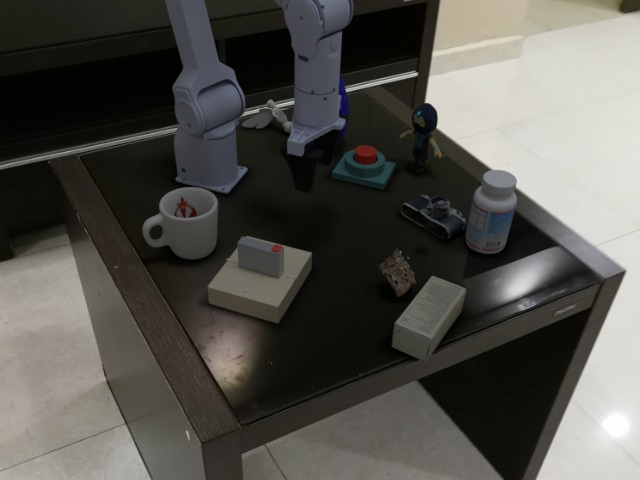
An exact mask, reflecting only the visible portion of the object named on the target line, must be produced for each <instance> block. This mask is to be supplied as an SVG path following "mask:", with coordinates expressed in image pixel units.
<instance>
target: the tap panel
mask: <svg viewBox="0 0 640 480" xmlns="http://www.w3.org/2000/svg"><path fill="white" fill-rule="evenodd" d="M245 237H247V238H250V239H254V240H258V241H262V242H265V243H269V244H273V245H275V244H276V245H280V246H282V247H284V272H283V273H282V275H281V276H280V278H278V277H275V276H271V275H267V274H264V273H260V272H257V271H253V270H249V269H246V268H242V267H239V265H238V249H237V248H236V249H235V250H234V251H233V252H232V254H231V255H230V256H229V258H228V257H227V258H226V259H225V260H226V262H225V263H224V264H223V266H222V267H221V268H220V269H219V271H218V272H217V273H216V275H215V276H214V277H213V278H212V280H211V281H210V282H209V283H208V285H207V286H206V289H207V299H208V304H209V305H213V306H215V307H219V308H223V309H226V310H230V311H232V312H236V313H240V314H243V315H246V316H251V317H252V318H253V317H254V318H257V319H260V320H264V321H267V322H270V323H274V324H279V323H280V322H281V319H282V318H283V317H284V315H285V314H286V312H287V311H288V309H289V307H290V305H291V303H292V302H293V301H294V299H295V297H296V295H297V294H298V293H299V291H300V289H301V287H302V286H303V284H304V282H305V281H306V279H307V278H308V276H309V274H310V273H311V271H312V270H313V269H312V267H313V266H312V265H313V252H311V251H306V250H303V249H299V248H295V247H291V246H287V245H285V244H284V245H283V244H280V243H276V242H272V241H269V240H265V239H261V238H257V237H253V236H249V235H246V236H245Z"/></svg>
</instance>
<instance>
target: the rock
mask: <svg viewBox="0 0 640 480" xmlns="http://www.w3.org/2000/svg"><path fill="white" fill-rule="evenodd" d="M406 258H407V259H408V260H409V259H410V256H406ZM378 266H379V270H380V273H382V274H383V276H384V277H385V278H386V279H387V282H388V284H389V285H390V287H391V289H392V290H393V291H394V293H395V296H396V297H397V298H400V297H402V296H404V295H405V294H406V293H407V292H408V291H409V290H410V288H411V287H412V286H413V285H416V283H417V280H416V276H415V274H416V272H415V271H414V272H413V270H412V269H411V265H409V263H408V262H407V261H406V260H405V256H403V255H402V250H400V251H399V249H398V248H396V249H395V250H394V251H393V254H391V255H390V256H389V257H385V259H384V261H382V262H381V263H380V264H379V265H378Z"/></svg>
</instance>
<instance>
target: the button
mask: <svg viewBox="0 0 640 480" xmlns="http://www.w3.org/2000/svg"><path fill="white" fill-rule="evenodd" d="M354 149H355V155H354V161H355V162H357V163H359V164H363V165H370V164H373V163H375V162H376V155H377V151H378V150H377V149H376V148H375V147H374V146H372V145H366V144H364V145H359V146H356V147H355V148H354ZM376 150H377V151H376Z"/></svg>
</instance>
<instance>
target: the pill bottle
mask: <svg viewBox="0 0 640 480" xmlns="http://www.w3.org/2000/svg"><path fill="white" fill-rule="evenodd" d="M517 183H518V180H517V178H516V176H515V175H514V174H513V173H511V172H509V171H507V170H502V169H490V170H488V171H486V172H485V173H484V174H483V175H482V179H481V183H480V184H481V185H479V187H477V189H476V190H475V191H474V194H473V196H472V197H473V198H472V203H471V208H470V212H469V217H468V222H467V225H466V231H465V237H464V239H465V244H466V245H467V246H468V247H469V248H470V249H471V250H472V251H474V252H476V253H478V254H479V253H480V254H483V255H493V254H497V253H500V252H501V251H503V250H504V249H505V247H506V245H507V241H508V236H509V233H510V230H511V225H512V222H513V218H514V216H515V215H514V214H515V210H516V207H517V203H518V199H517V198H518V197H517V194H516V193H515V191H516V187H517Z"/></svg>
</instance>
